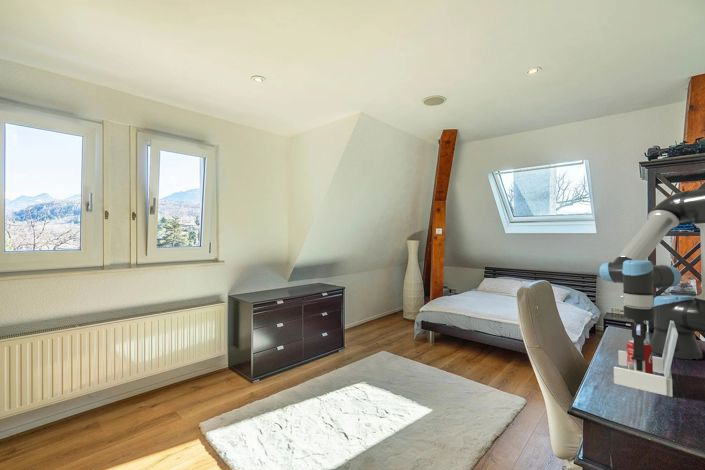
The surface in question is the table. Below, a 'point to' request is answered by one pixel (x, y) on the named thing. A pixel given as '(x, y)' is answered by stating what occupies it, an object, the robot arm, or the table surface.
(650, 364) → the beverage can
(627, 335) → the table surface
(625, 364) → the white flat pieces
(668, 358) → the lid
